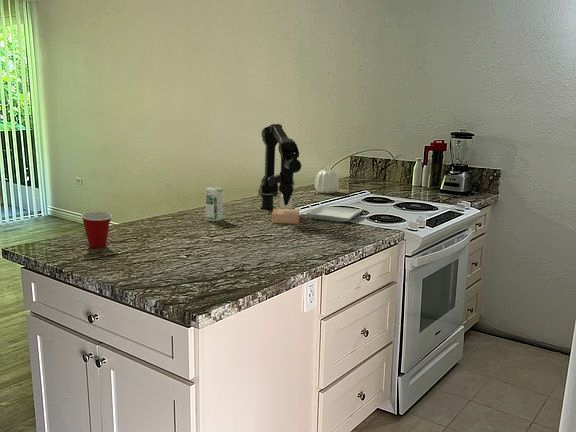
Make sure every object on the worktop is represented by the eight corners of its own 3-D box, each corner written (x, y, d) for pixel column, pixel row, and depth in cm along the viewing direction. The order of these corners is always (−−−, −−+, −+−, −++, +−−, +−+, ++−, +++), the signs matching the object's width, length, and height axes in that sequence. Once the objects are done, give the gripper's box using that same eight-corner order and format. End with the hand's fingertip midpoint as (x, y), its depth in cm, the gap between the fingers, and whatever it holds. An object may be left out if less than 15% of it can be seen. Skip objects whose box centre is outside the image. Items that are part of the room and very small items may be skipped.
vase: (339, 195, 327) (340, 171, 324) (314, 194, 327) (315, 171, 324) (337, 190, 341) (338, 168, 338) (313, 190, 341) (314, 167, 338)
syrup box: (205, 220, 256) (204, 188, 253) (212, 217, 261) (212, 186, 258) (215, 222, 253) (215, 189, 250) (223, 219, 258) (223, 187, 255)
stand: (273, 216, 266) (273, 208, 265) (299, 217, 266) (299, 209, 265) (271, 222, 255) (272, 214, 254) (298, 223, 254) (299, 214, 253)
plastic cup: (98, 252, 203) (97, 218, 200) (75, 247, 208) (74, 215, 205) (119, 245, 213) (118, 213, 210) (97, 241, 217) (96, 210, 215)
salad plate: (304, 219, 264) (305, 212, 263) (321, 211, 283) (321, 204, 282) (348, 225, 256) (349, 217, 255) (362, 216, 275) (363, 209, 274)
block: (280, 205, 261) (281, 194, 260) (291, 205, 261) (292, 194, 260) (280, 207, 257) (280, 196, 255) (291, 207, 256) (291, 196, 255)
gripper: (270, 166, 265) (269, 199, 268) (267, 171, 246) (266, 207, 250) (294, 166, 264) (293, 200, 268) (293, 172, 246) (292, 208, 250)
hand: (286, 203), depth 259 cm, fingers closed on block, 5 cm apart
